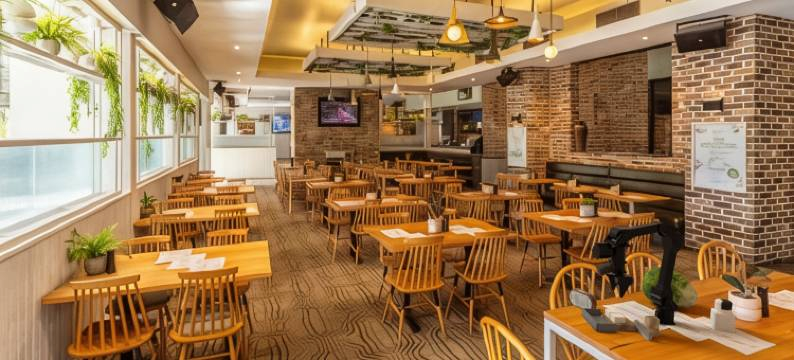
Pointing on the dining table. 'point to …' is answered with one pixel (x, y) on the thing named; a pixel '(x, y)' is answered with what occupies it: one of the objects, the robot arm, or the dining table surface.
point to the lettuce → (680, 286)
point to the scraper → (648, 327)
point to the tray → (598, 320)
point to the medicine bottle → (723, 316)
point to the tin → (582, 298)
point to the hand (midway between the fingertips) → (616, 294)
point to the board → (622, 324)
